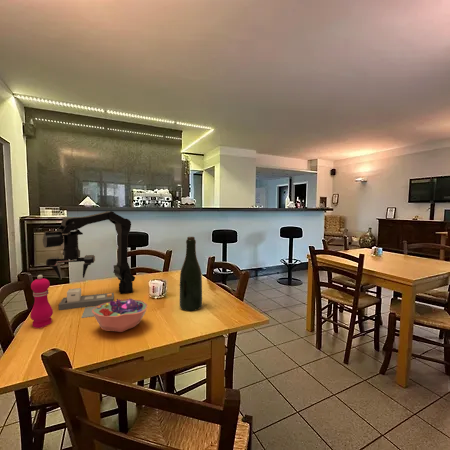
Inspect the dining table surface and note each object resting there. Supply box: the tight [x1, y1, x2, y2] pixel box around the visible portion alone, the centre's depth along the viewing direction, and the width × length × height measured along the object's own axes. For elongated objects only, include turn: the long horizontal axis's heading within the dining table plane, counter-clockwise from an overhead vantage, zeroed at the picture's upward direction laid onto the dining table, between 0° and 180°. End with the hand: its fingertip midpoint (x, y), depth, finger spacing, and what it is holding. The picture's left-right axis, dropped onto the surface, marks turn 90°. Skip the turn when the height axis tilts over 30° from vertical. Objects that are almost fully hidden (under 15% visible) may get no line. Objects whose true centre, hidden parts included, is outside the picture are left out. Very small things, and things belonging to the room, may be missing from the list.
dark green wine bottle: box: [179, 236, 203, 312], centre depth 120 cm, size 10×10×33 cm
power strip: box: [58, 292, 115, 311], centre depth 123 cm, size 22×9×4 cm, turn 111°
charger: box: [66, 287, 82, 303], centre depth 121 cm, size 5×5×7 cm
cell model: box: [92, 298, 148, 333], centre depth 100 cm, size 17×20×11 cm
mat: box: [81, 306, 97, 319], centre depth 115 cm, size 11×11×1 cm
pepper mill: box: [29, 274, 54, 329], centre depth 102 cm, size 7×7×20 cm
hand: (72, 278), depth 120 cm, fingers open, 9 cm apart
